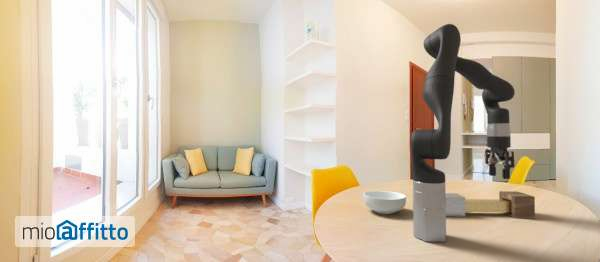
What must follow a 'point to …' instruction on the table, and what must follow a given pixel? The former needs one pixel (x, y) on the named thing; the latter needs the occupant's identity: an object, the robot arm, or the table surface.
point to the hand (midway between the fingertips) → (499, 177)
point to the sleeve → (455, 205)
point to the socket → (519, 204)
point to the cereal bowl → (384, 201)
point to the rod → (488, 205)
